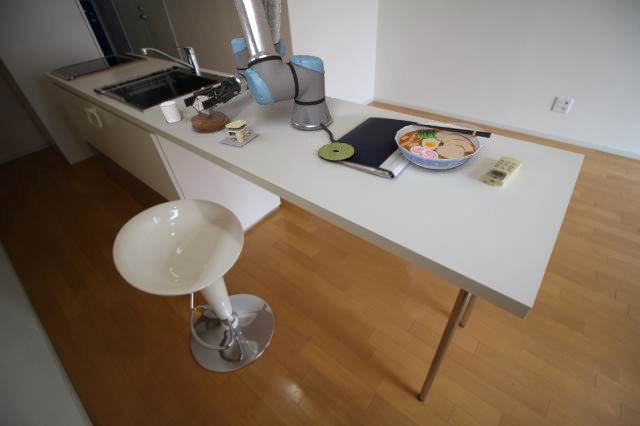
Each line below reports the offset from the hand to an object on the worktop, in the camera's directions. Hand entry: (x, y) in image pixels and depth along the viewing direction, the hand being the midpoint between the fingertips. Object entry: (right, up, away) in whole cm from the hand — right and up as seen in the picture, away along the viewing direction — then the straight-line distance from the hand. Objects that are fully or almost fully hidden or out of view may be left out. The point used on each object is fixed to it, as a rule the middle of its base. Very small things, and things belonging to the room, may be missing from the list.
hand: (194, 104), depth 106 cm
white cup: (-16, 0, +16) cm, 23 cm away
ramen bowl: (+79, -25, -21) cm, 86 cm away
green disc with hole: (+51, -22, -15) cm, 58 cm away
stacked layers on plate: (+17, -13, -1) cm, 22 cm away
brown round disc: (+3, -5, +10) cm, 11 cm away
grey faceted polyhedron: (+2, -2, +7) cm, 8 cm away
